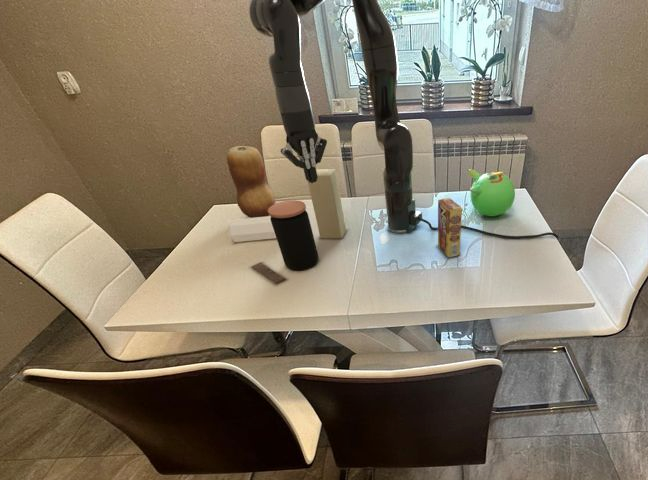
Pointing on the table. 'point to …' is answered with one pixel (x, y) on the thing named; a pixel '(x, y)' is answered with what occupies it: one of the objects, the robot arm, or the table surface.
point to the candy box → (449, 227)
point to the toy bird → (491, 193)
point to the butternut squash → (250, 181)
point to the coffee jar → (294, 234)
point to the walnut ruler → (268, 273)
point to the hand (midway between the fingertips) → (312, 181)
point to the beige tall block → (327, 204)
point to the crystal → (251, 229)
